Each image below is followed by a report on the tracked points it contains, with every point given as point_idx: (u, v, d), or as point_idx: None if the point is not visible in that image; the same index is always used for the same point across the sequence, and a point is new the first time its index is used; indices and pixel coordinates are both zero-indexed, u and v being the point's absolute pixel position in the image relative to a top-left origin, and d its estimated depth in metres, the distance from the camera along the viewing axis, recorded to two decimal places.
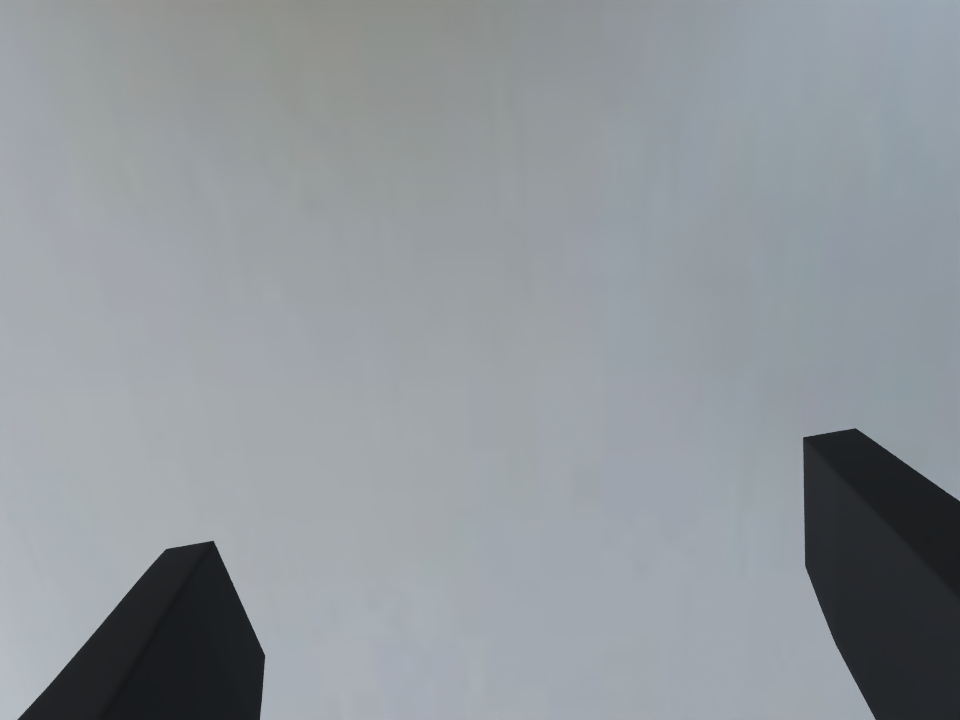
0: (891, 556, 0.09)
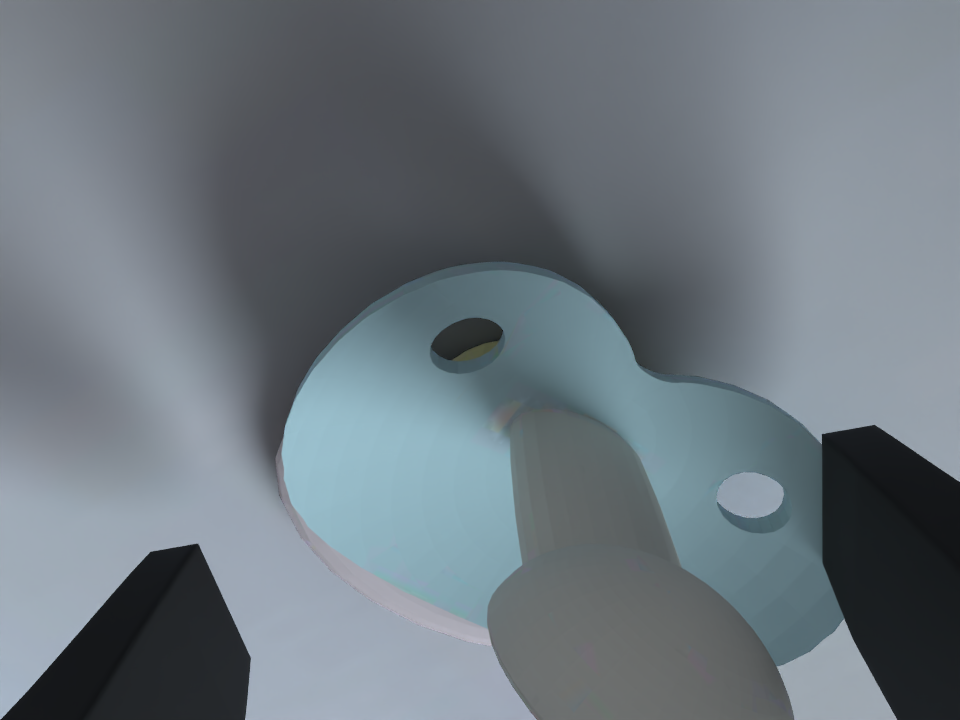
0: (914, 552, 0.09)
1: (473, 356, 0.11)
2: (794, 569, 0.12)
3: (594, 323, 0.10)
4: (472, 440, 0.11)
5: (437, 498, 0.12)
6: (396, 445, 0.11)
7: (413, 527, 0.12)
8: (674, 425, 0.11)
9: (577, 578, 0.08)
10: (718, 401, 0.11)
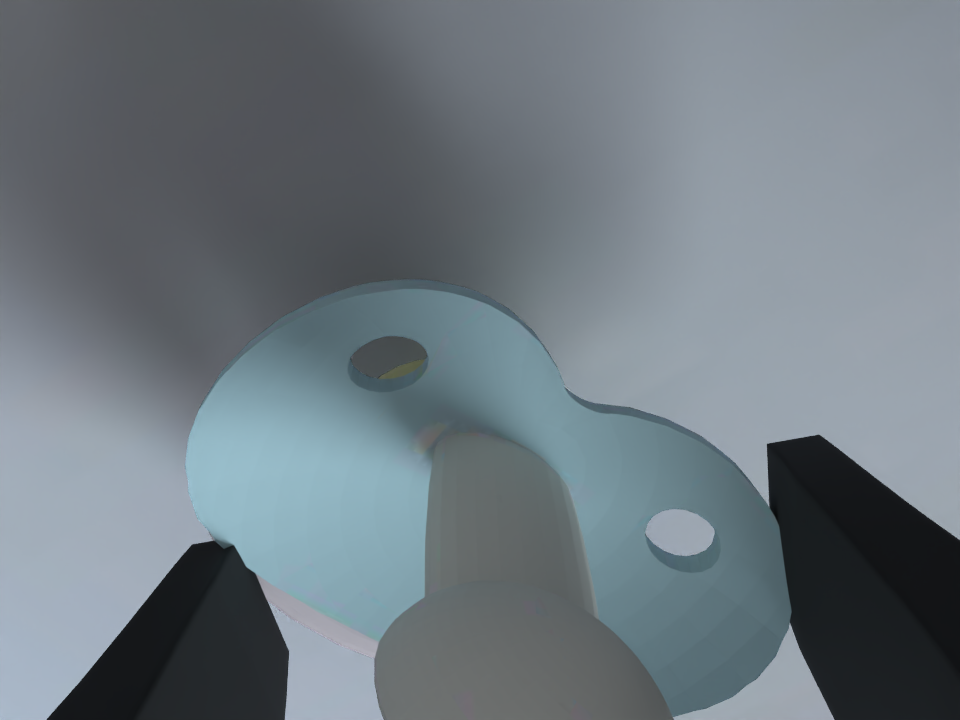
0: (846, 564, 0.09)
1: (401, 373, 0.11)
2: (720, 611, 0.11)
3: (522, 348, 0.10)
4: (394, 460, 0.11)
5: (356, 518, 0.11)
6: (313, 462, 0.11)
7: (330, 546, 0.11)
8: (605, 457, 0.11)
9: (468, 619, 0.08)
10: (649, 434, 0.11)
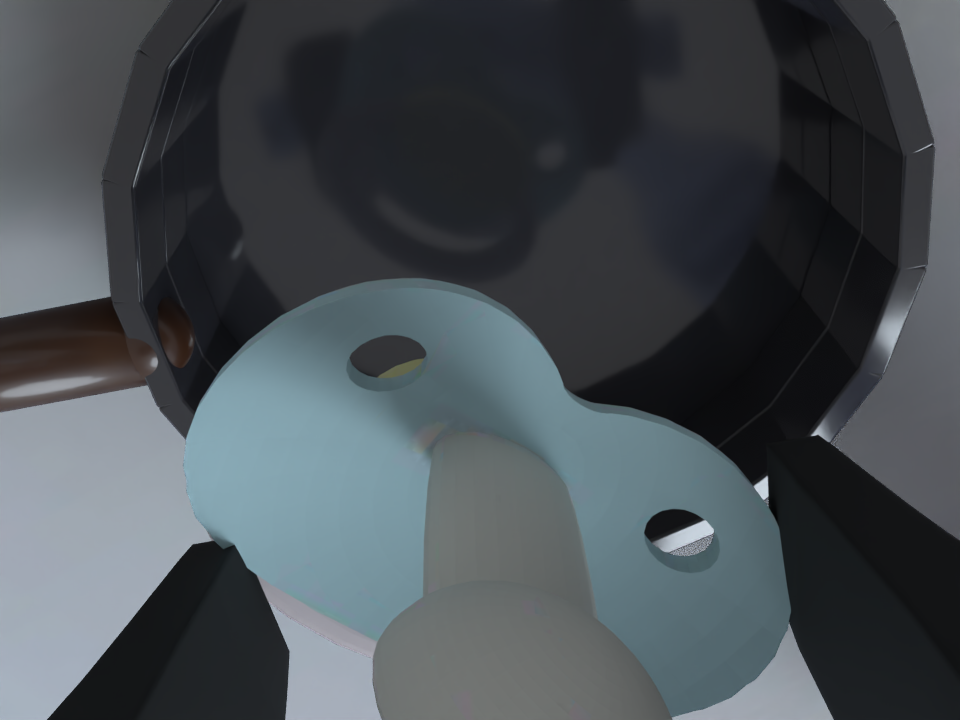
0: (846, 563, 0.09)
1: (400, 373, 0.11)
2: (719, 612, 0.11)
3: (521, 348, 0.10)
4: (393, 460, 0.11)
5: (355, 517, 0.11)
6: (311, 461, 0.10)
7: (329, 546, 0.11)
8: (603, 457, 0.11)
9: (467, 619, 0.08)
10: (648, 435, 0.11)
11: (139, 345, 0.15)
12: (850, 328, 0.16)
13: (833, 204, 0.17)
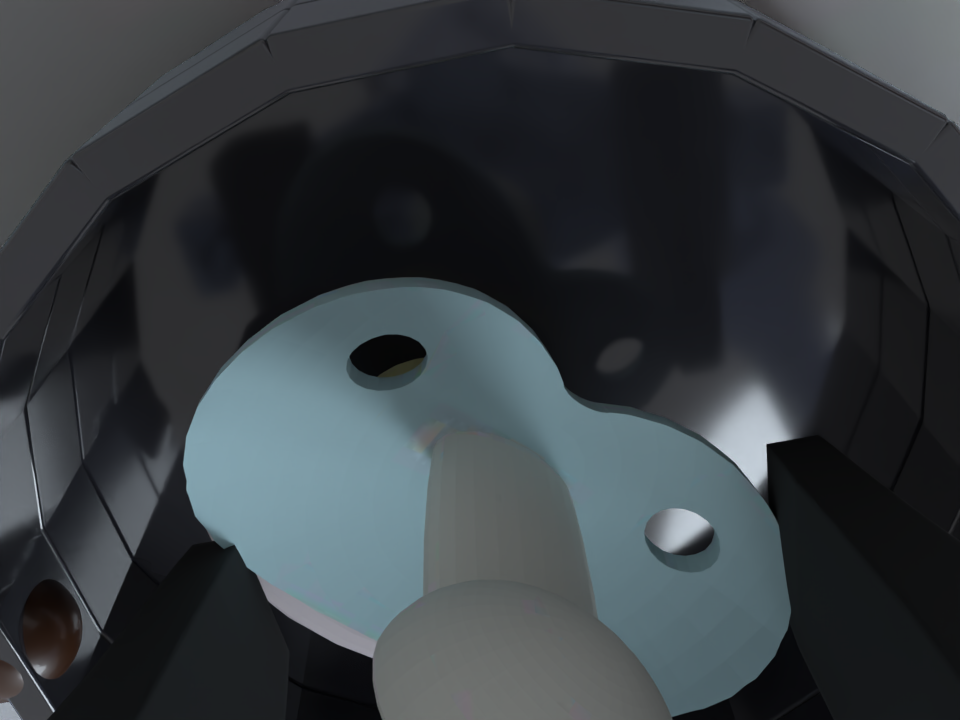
0: (846, 564, 0.09)
1: (400, 372, 0.11)
2: (720, 611, 0.11)
3: (522, 346, 0.10)
4: (393, 459, 0.11)
5: (355, 517, 0.11)
6: (311, 460, 0.10)
7: (329, 545, 0.11)
8: (604, 456, 0.11)
9: (467, 618, 0.08)
10: (649, 434, 0.11)
11: None
12: None
13: (928, 425, 0.13)
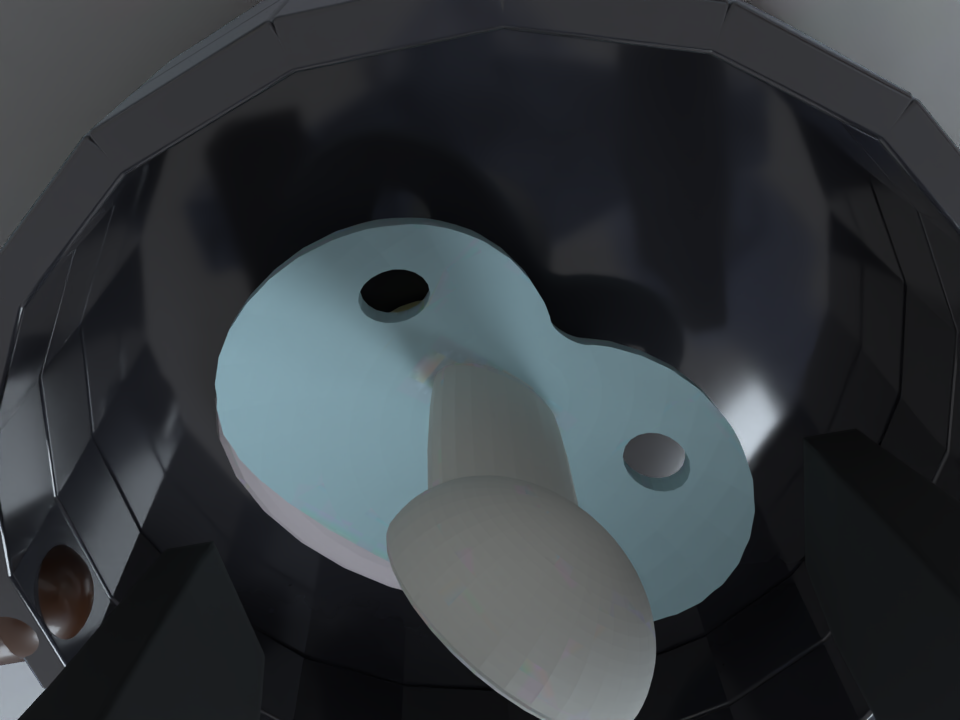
0: (891, 556, 0.09)
1: None
2: (690, 526, 0.13)
3: (513, 283, 0.11)
4: (398, 388, 0.12)
5: (363, 442, 0.12)
6: (326, 387, 0.12)
7: (340, 468, 0.13)
8: (586, 386, 0.12)
9: (467, 497, 0.09)
10: (626, 364, 0.12)
11: (12, 625, 0.11)
12: None
13: (905, 398, 0.14)
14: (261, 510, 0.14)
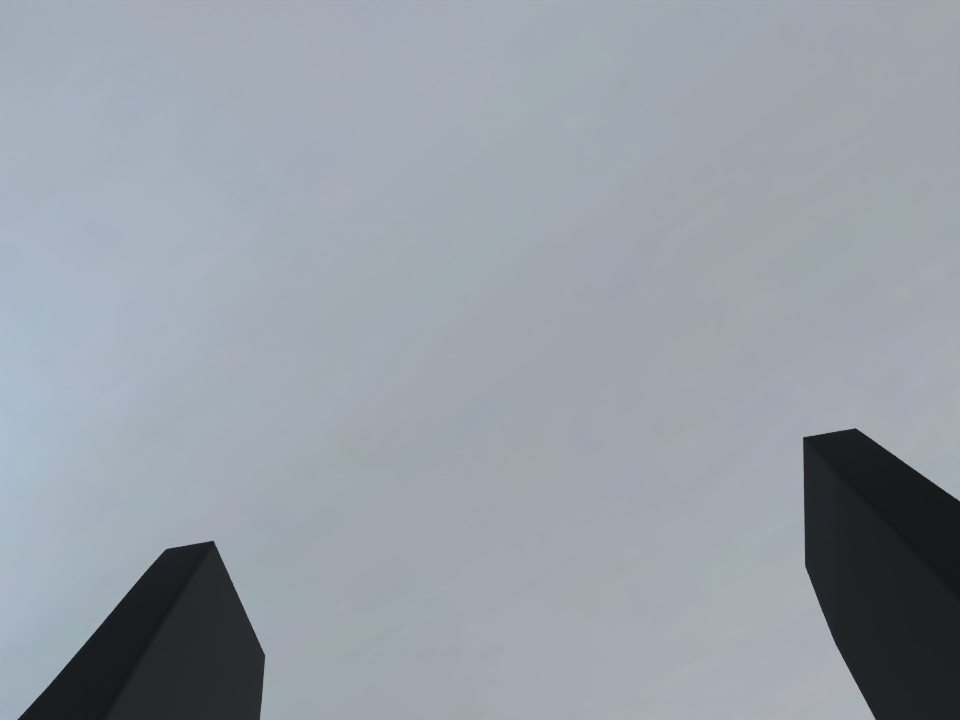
0: (891, 556, 0.09)
1: None
2: None
3: None
4: None
5: None
6: None
7: None
8: None
9: None
10: None
11: None
12: None
13: None
14: None
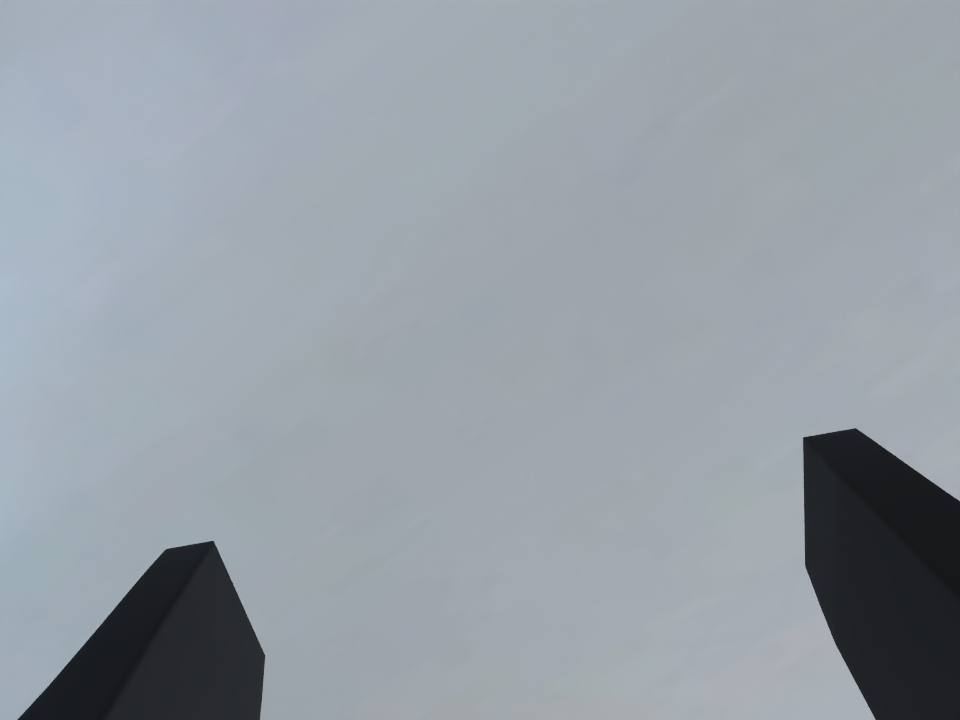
0: (891, 556, 0.09)
1: None
2: None
3: None
4: None
5: None
6: None
7: None
8: None
9: None
10: None
11: None
12: None
13: None
14: None
